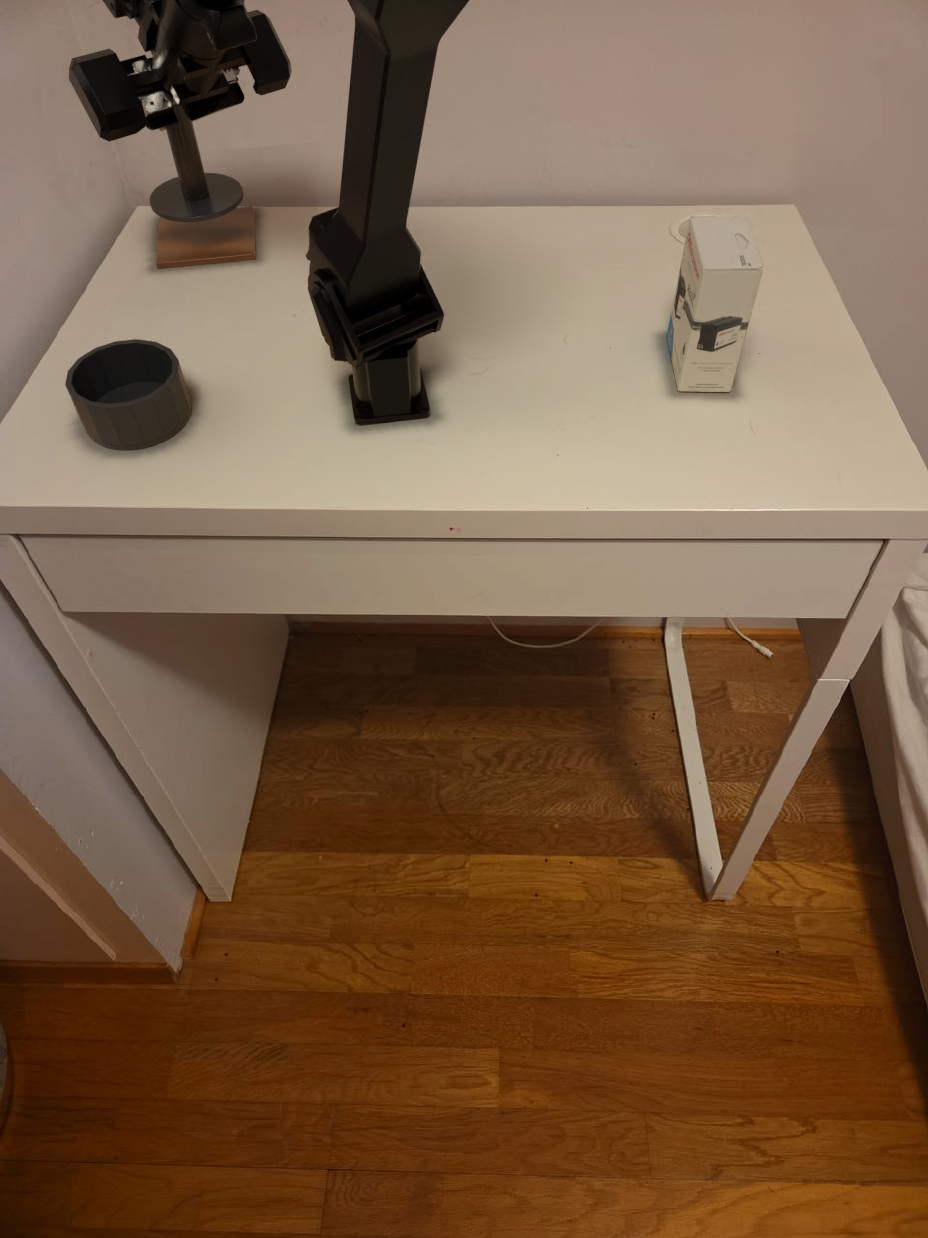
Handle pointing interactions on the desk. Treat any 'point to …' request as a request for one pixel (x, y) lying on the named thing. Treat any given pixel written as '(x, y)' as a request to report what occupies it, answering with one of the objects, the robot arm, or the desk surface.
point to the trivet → (207, 240)
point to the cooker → (129, 394)
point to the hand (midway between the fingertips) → (173, 121)
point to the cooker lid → (192, 180)
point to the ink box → (713, 302)
